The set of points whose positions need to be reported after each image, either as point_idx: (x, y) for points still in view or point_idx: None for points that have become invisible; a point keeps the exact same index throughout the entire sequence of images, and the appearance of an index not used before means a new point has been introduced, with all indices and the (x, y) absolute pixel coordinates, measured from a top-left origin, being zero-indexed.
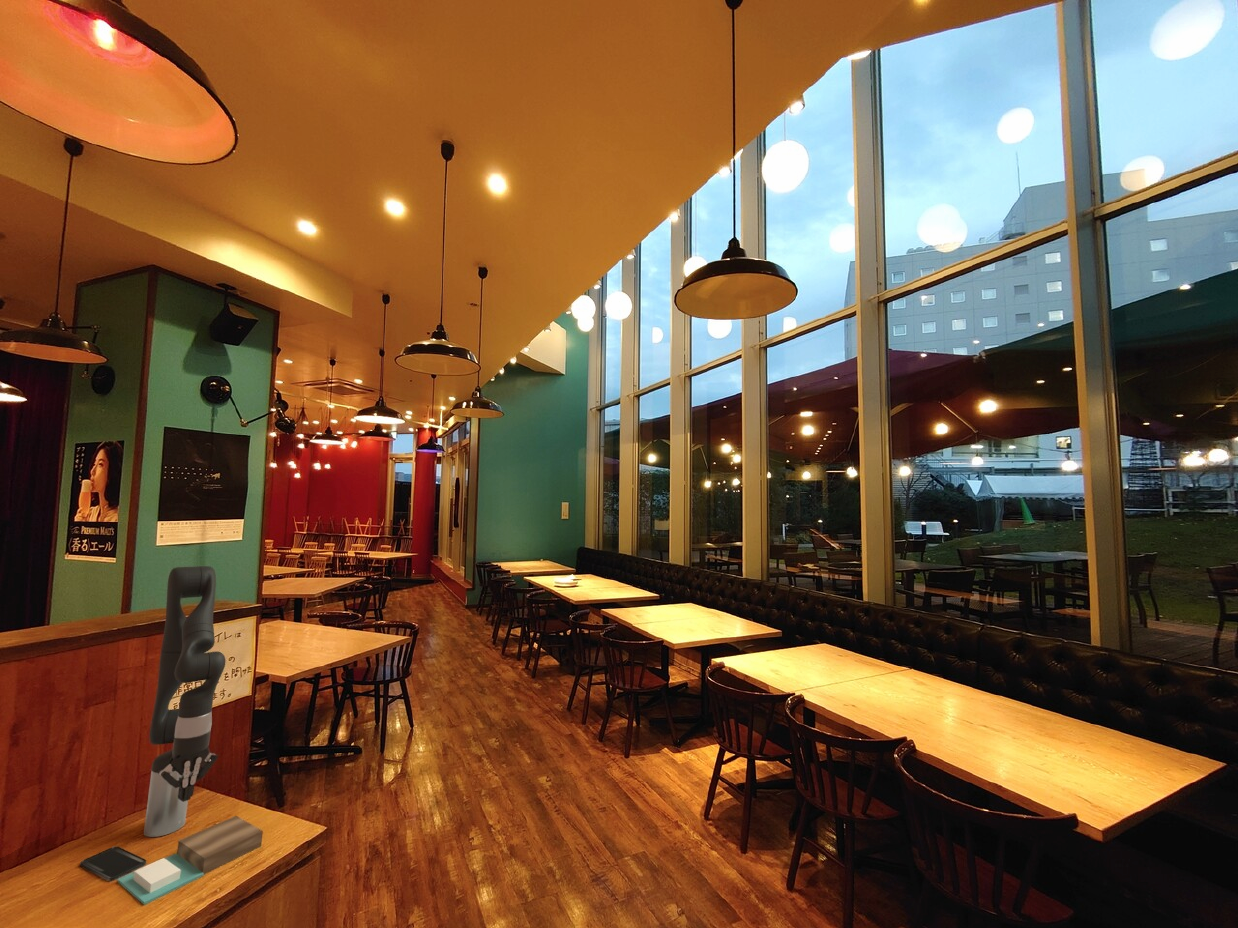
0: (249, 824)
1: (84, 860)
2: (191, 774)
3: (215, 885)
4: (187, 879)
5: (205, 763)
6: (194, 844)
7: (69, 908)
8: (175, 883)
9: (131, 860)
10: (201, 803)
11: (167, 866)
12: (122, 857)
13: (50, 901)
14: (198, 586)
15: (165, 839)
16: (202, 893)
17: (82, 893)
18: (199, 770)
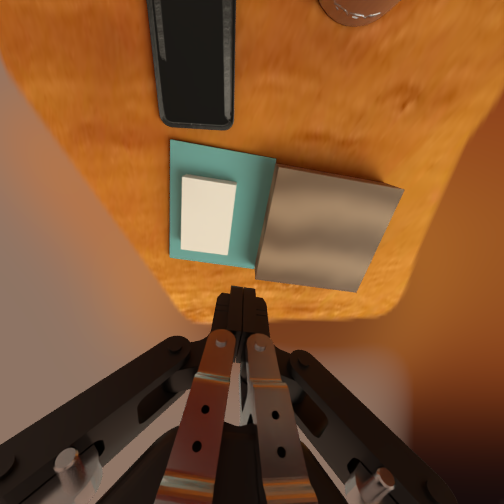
0: (372, 251)
1: None
2: (242, 421)
3: None
4: (232, 261)
5: (345, 453)
6: (279, 219)
7: (89, 145)
8: (217, 254)
9: (218, 82)
10: None
11: (222, 223)
12: (215, 35)
13: (63, 72)
14: None
15: (315, 47)
16: None
17: (116, 112)
18: (314, 390)
